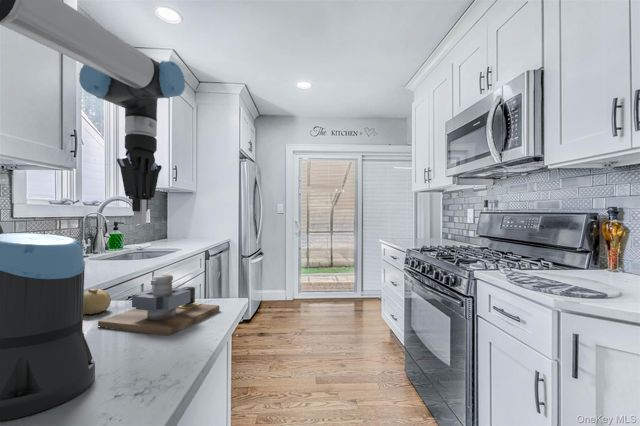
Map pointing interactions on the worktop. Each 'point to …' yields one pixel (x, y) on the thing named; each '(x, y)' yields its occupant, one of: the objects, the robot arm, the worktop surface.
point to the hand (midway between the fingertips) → (139, 224)
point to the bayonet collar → (163, 299)
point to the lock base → (158, 326)
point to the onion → (95, 301)
